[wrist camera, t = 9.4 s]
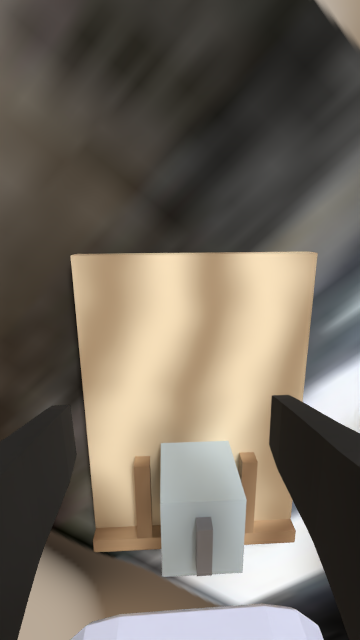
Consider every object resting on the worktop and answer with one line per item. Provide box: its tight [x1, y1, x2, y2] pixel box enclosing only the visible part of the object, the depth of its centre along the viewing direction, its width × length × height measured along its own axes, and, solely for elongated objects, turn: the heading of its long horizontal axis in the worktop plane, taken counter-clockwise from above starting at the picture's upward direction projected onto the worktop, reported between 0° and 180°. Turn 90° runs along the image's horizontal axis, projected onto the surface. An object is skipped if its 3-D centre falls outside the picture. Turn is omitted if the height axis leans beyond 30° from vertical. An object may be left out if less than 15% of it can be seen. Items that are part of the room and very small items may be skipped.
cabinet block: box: [160, 441, 247, 577], centre depth 20 cm, size 4×5×6 cm
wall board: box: [71, 252, 317, 552], centre depth 22 cm, size 14×20×2 cm
